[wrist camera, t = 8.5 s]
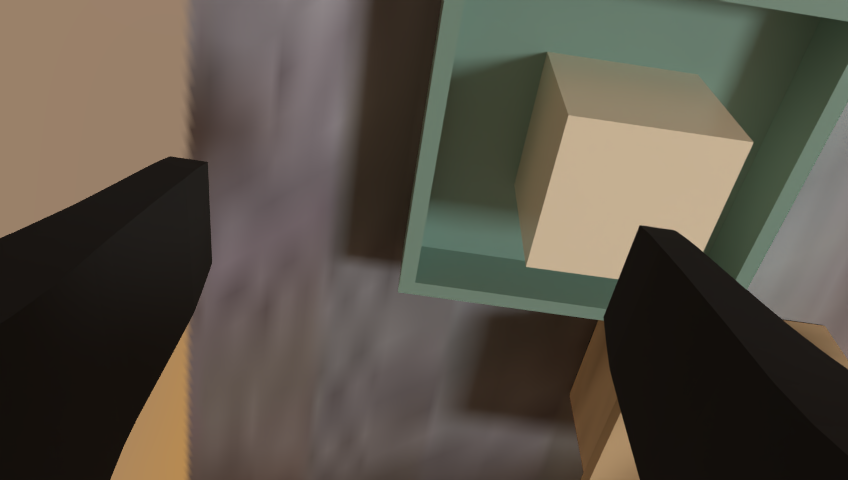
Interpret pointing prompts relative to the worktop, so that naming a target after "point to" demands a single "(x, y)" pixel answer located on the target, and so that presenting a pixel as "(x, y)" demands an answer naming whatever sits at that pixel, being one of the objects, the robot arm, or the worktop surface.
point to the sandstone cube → (621, 162)
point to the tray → (625, 43)
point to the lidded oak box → (601, 416)
